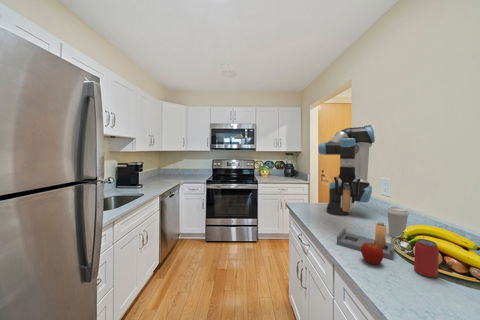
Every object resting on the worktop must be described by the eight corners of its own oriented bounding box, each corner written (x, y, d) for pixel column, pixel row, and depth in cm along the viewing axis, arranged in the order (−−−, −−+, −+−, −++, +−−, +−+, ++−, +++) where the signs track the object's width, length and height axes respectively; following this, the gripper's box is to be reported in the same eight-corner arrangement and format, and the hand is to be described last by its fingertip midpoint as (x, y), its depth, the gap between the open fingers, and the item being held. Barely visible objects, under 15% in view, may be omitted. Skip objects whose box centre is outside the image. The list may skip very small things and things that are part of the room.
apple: (372, 269, 79) (373, 249, 78) (356, 258, 86) (356, 240, 86) (387, 265, 81) (388, 246, 80) (370, 256, 88) (370, 238, 88)
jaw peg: (343, 209, 116) (343, 187, 115) (351, 210, 113) (351, 187, 112) (341, 210, 113) (342, 188, 112) (349, 212, 110) (350, 189, 109)
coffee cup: (402, 233, 112) (403, 206, 111) (412, 241, 103) (413, 212, 102) (382, 231, 115) (383, 205, 114) (390, 238, 105) (391, 210, 105)
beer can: (413, 273, 76) (414, 241, 75) (414, 266, 81) (416, 236, 80) (437, 281, 71) (438, 247, 71) (437, 273, 76) (439, 242, 75)
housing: (343, 235, 109) (344, 212, 109) (394, 248, 95) (395, 221, 94) (336, 244, 99) (337, 218, 99) (392, 259, 85) (393, 230, 84)
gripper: (329, 166, 114) (328, 206, 115) (363, 167, 103) (362, 212, 104) (332, 165, 120) (332, 203, 121) (366, 166, 109) (365, 209, 110)
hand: (346, 207), depth 113 cm, fingers closed on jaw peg, 4 cm apart
